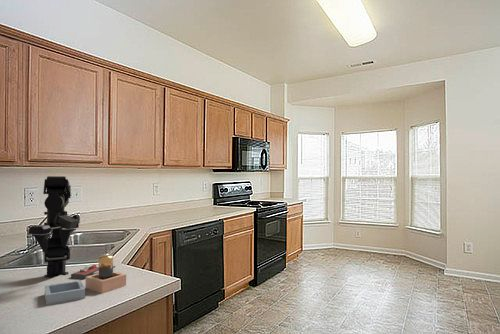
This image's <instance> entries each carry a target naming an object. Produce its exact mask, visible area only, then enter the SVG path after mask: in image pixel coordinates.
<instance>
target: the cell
mask: <svg viewBox="0 0 500 334" xmlns="http://www.w3.org/2000/svg"><path fill="white" fill-rule="evenodd" d="M113 266H114V255H113V254H109V253H103V254H102V255H100V256H98V267H99V279H102V280H105V279H108V278H112V277H113V271H114V268H113Z"/></svg>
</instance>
